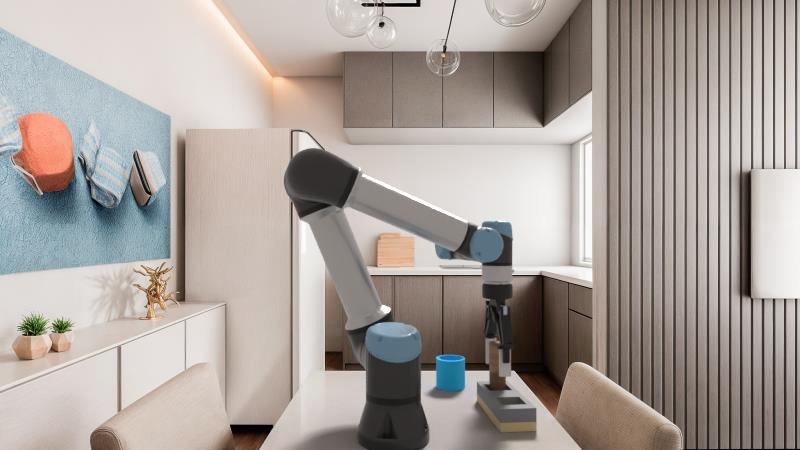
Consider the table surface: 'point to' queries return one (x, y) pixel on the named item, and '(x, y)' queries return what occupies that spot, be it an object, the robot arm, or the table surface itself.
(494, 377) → the peg
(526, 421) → the rail
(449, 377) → the mug
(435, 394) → the table surface
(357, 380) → the table surface
